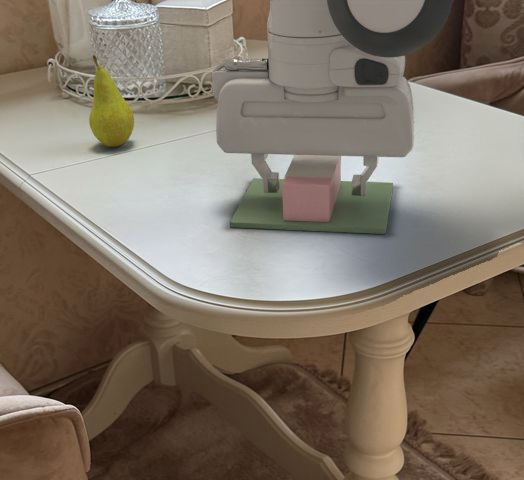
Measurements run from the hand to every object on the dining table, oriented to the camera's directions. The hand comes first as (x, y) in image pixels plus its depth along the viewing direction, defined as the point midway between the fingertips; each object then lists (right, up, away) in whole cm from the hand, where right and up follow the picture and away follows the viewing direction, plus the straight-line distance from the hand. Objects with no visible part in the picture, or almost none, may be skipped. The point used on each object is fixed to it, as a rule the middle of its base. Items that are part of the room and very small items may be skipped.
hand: (315, 192), depth 84 cm
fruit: (-25, +10, +20) cm, 34 cm away
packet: (0, -1, 0) cm, 1 cm away
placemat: (0, -1, +1) cm, 2 cm away
